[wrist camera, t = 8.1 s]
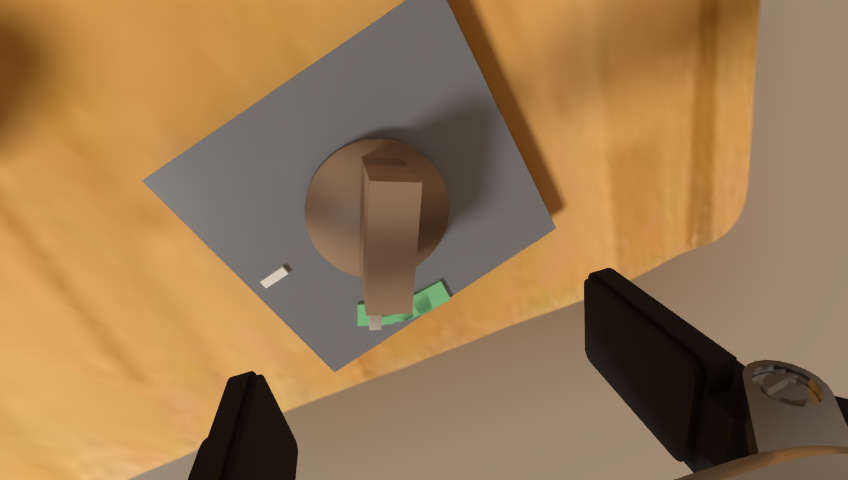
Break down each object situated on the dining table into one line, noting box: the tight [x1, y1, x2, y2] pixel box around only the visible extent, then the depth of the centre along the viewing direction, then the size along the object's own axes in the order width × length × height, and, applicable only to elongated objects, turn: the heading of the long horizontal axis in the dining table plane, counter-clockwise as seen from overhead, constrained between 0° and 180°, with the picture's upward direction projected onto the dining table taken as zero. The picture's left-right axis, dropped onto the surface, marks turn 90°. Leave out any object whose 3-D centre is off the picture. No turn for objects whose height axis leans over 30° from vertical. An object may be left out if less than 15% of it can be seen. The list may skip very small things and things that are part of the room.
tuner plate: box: [142, 0, 556, 372], centre depth 26 cm, size 20×18×2 cm
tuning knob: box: [305, 138, 449, 330], centre depth 23 cm, size 13×9×7 cm
